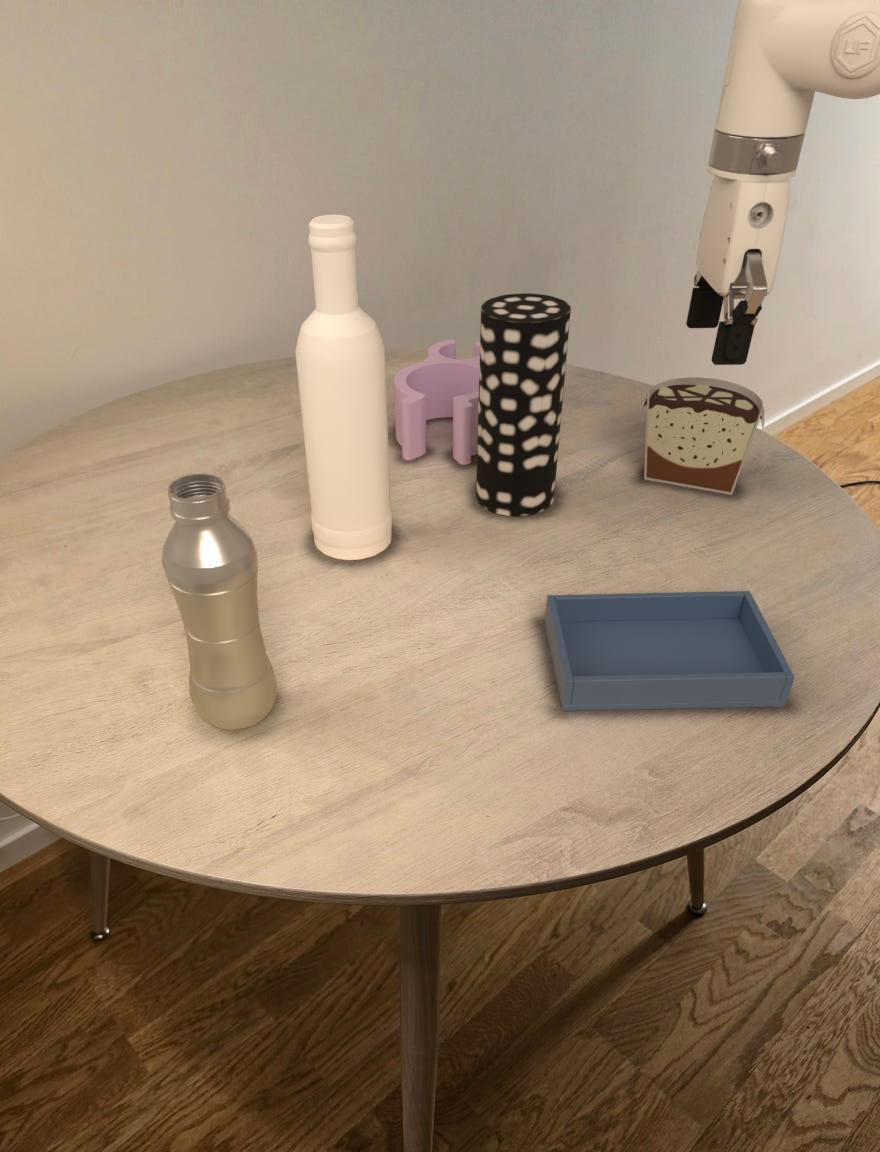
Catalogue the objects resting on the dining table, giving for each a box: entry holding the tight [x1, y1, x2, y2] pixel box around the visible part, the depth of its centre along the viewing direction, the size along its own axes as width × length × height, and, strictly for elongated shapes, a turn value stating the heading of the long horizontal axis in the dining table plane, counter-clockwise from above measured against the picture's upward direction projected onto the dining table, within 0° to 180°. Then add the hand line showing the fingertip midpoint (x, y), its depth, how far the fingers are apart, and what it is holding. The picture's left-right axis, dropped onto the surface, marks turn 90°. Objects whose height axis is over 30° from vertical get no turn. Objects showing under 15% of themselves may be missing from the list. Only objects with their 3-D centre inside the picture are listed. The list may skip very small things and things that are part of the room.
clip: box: [393, 339, 480, 466], centre depth 108 cm, size 20×12×7 cm, turn 167°
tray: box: [544, 590, 796, 712], centre depth 73 cm, size 17×11×3 cm, turn 90°
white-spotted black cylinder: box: [475, 292, 572, 517], centre depth 90 cm, size 8×8×20 cm
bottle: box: [294, 214, 393, 561], centre depth 80 cm, size 8×8×30 cm
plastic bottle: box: [161, 473, 278, 731], centre depth 64 cm, size 6×7×20 cm
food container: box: [640, 376, 765, 496], centre depth 95 cm, size 12×6×10 cm, turn 65°
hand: (714, 344), depth 90 cm, fingers open, 9 cm apart
